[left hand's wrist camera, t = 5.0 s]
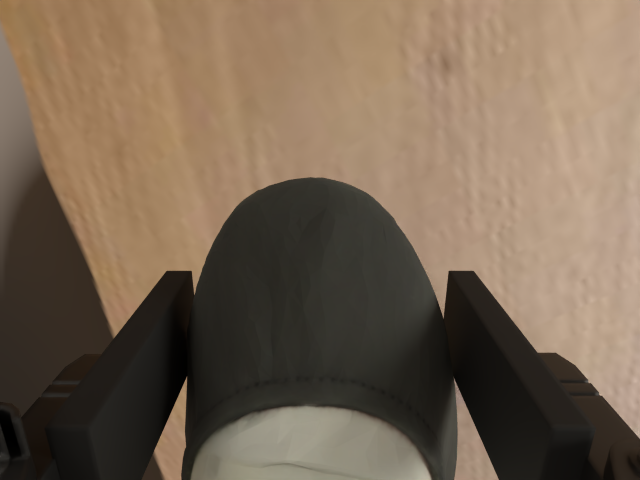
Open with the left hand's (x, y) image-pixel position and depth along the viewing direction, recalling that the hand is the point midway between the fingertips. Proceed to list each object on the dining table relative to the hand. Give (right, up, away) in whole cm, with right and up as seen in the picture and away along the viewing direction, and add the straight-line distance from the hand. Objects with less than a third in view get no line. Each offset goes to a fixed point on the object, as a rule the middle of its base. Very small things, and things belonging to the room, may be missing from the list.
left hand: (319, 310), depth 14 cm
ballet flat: (0, -7, +3) cm, 8 cm away
